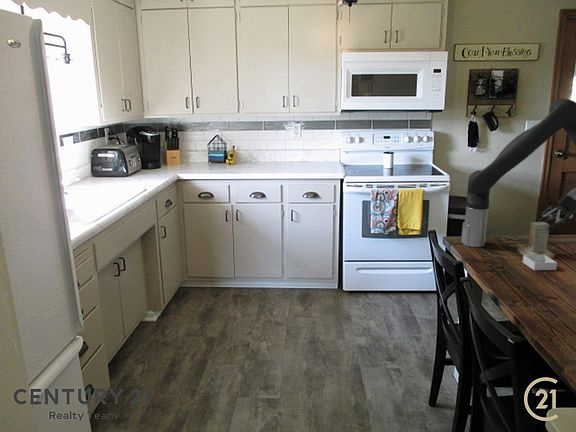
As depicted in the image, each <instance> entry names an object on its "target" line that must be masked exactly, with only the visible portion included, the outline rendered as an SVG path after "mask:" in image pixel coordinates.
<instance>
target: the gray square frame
mask: <svg viewBox="0 0 576 432" xmlns="http://www.w3.org/2000/svg"><path fill="white" fill-rule="evenodd" d="M522 263H523V264H524V265H526V266H527V267H529V268H530V269H532V270H533V271H556V270H557V267H558V262H557V261H555V260H553V258H549V257H547V256H546V255H523V254H522Z"/></svg>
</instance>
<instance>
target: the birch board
mask: <svg viewBox="0 0 576 432" xmlns="http://www.w3.org/2000/svg"><path fill="white" fill-rule="evenodd" d="M517 252H518V253H520V254H522V256H523V255H546V256H547V257H549V258H550V259H554V258H555V253H553V252H552V251H550V250H548V249H547V250H546V252H531V251H530V250H528V246H527V247H526V246H525V247H521V246H519V247H517Z"/></svg>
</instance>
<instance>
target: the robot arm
mask: <svg viewBox="0 0 576 432" xmlns="http://www.w3.org/2000/svg"><path fill="white" fill-rule="evenodd" d="M562 129H563V131H565V133H566V134H567V136H568V137H569V138H570V140H571V141H572V143H573V144H574V146H575V147H576V102H575V101H574V100H571V99H568V98H558V99H555V100H554V101H553V102H552V103H551V105H550V107H549V113H548V114H547V115H546V117H544V118H543V119H542V120H541V121H540V122H538V123H536V124H535V125H533V126H532V127H530V128H528V129H526V130H525V131H523V132H521V133H520V134H519V135H517V136H516V137H514V139H512V140H511V141H510V142H508V144H506V146H505V147H504V148H503V149H502V150H501V151H500V152H499V154H498V155H497V156H496V158H495V159H494V160H493V161H492V162H491V163H490V164H488V165H487V166H486V167H484V168H483V169H482V170H480V169H478V170H475V171H473V172H471V174H469V177H468V180H467V181H468V183H467V192H466V193H467V194H466V207H465V216H464V218H465V219H464V221H463V222H462V230H461V239H460V242H461V243H462V244H463V245H464V246H465V247H472V248H481V247H484V246H485V243H486V233H487V224H488V217H489V207H490V192H491V191H490V190H491V189H492V188H493V186H495V185H496V183H498V182H499V180H500V179H501V178H502V177H504V176H505V175H506V174H507V173H508V172H510V171H511V170H513V169H514V168H515V167H517V166H518V165H519V164H521V163H522V162H523V161H525V160H526V159H527V158H528V157H529V156H531V155H532V154H533V153H534V152H535V151H536V150H537V149H538V148H540V147H541V146H542V145H544V144H545V142H547V141H548V140H549V139H550V138H551V137H552V136H553V135H554V134H556V133H557V132H559V131H560V130H562ZM557 204H558V205H556V206H554V205H553V204H550V205H549V206H548V207H547V208H546V209H544V211H542V212H541V214H540V215H541V216H542V217H541V218H540V219H538V220H537V221H536V222H545V223H547V221H549V220H554V219H555V222H553V223H552V224H551V225H549V228H548V230H549V232H550V233H554V231H555V230H557V229H558V228H560V227H562V228H564V227H566V226H567V225H569V223H570V222H571V221H572V220H574V218H575V216H574V214H575V213H576V186H575V188H573V189H572V190H570V191H569V192H568V193H566V195H565V196H563V197H562V198H561V199H560V200H559V201H557Z"/></svg>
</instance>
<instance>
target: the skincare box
mask: <svg viewBox="0 0 576 432" xmlns="http://www.w3.org/2000/svg"><path fill="white" fill-rule="evenodd" d="M549 227H550V224H549V223H547V222H537V221H531V222H530V224H529V232H528V241H527V247H528V250H530V251H531V252H546V250H548V240H549V232H550V231H549V230H548V228H549Z"/></svg>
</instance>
